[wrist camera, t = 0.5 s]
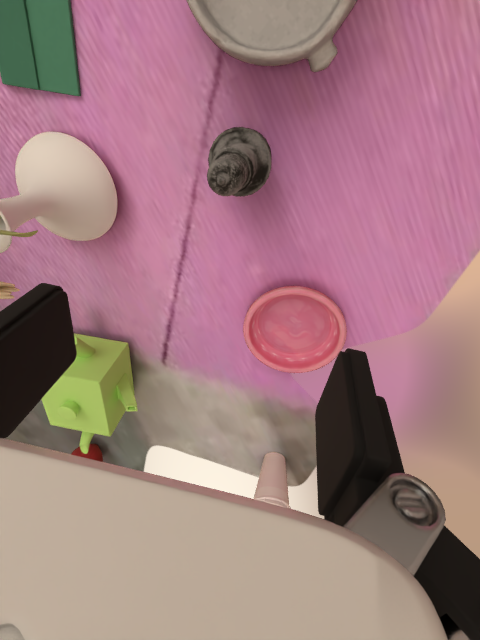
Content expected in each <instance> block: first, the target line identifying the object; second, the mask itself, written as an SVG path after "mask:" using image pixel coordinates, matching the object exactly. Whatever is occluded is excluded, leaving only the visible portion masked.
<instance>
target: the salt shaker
mask: <svg viewBox="0 0 480 640" xmlns="http://www.w3.org/2000/svg"><path fill="white" fill-rule="evenodd" d="M208 161H209V169H208V173H207V180H208V184H209V186H210V188H211V189H212V190H213V191H214V192H215V193H217V194H218V195H221V196H231V195H233V196H248V195H251V194H253V193H255V192H257V191H258V190H259V189H260V188H261V187H262V186H263V185H264V184H265V182H266V181H267V179H268V177H269V174H270V170H271V151H270V147H269V145H268V143H267V141H266V139H265V138H264V137H263V136H262V135H261V134H260V133H258V132H257V131H255V130H252V129H249V128H244V127H234V128H231V129H228V130H226V131H224V132H223V133H221V134H220V135H219V136H218V137H217V138H216V140H215V141H214V142H213V144H212V147H211V149H210V153H209V159H208Z"/></svg>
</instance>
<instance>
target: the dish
mask: <svg viewBox="0 0 480 640" xmlns="http://www.w3.org/2000/svg"><path fill="white" fill-rule="evenodd" d="M356 1H357V0H187V2H188V5H189V7H190V9H191V11H192V13H193V15H194V17H195V19H196V20H197V22H198V23H199V25H200V26H201V28H202V29H203V31H204V32H205V33H206V34H207V35H208V37H209V38H210V39H211V40H212V41H213V42H214V43H215V44H216V45H217V46H218V47H219V48H220V49H222V50H223V51H224V52H226V53H227V54H229V55H230V56H232V57H234V58H236V59H238V60H241V61H243V62H246V63H249V64H254V65H261V66H281V65H286V64H291V63H294V62H297V61H299V60H302V59H307V60H308V61H309V65H310V69H311V71H312V72H318V71H321V70H324V69H326V68H327V67H328V66H329V65H330V63H331V61H332V60H333V59H334V57H335V56H336V55H337V48H336V46H335V45H334V43H333V41H332V38H333V36H334V34H335V33H336V32H337V30H338V29H339V27H340V26H341V25H342V23H343V22H344V20H345V19H346V17H347V16H348V14H349V13H350V11H351V10H352V8H353V7H354V5H355V3H356Z"/></svg>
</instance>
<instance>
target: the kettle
mask: <svg viewBox="0 0 480 640" xmlns="http://www.w3.org/2000/svg"><path fill="white" fill-rule="evenodd" d="M74 339H75V345H76V351H77V355H76V359H75V361H74V362H73V363H72V364H71V366H70V367H69V368H68V369H67V370H66V371H65V372H64V374H63V375H62V376H61V377H60V378H59V379H58V380H57V382H56V383H55V384H54V385H53V386H52V387H51V388H50V390H49V391H48V392H47V393H46V394H45V395H44V396H43V398H42V402H43V405H44V408H45V411H46V413H47V416H48V419H49V422H50V424H51V425H55V426H60V427H65V428H69V429H74V430H79V431H82V435H81V440H80V449H81V451H82V452H83V453H84V454H87V453H88V450H89V444H90V441H91V439H92V437H93V435H94V433H95V434H100V435H105V436H109V437H110V436H111V435H112V433H113V432H114V430H115V428H116V426H117V425H118V423H119V421H120V419H121V418H122V416H123V414H124V412H125V411H137V403H136V400H135V397H134V395H135V394H134V386H133V375H132V369H131V361H130V353H129V352H130V349H129V346H128V343H126V342H120V341H114V340H108V339H103V338H97V337H91V336H85V335H80V334H74Z"/></svg>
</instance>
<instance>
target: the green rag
mask: <svg viewBox="0 0 480 640" xmlns="http://www.w3.org/2000/svg"><path fill="white" fill-rule="evenodd" d="M0 73H1V78H2V82H3V84H6V85H12V86H18V87H24V88H30V89H36V90H44V91H50V92H56V93H62V94H68V95H74V96H81V92H80V83H79V74H78V65H77V56H76V47H75V38H74V29H73V20H72V11H71V2H70V0H0Z"/></svg>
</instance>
